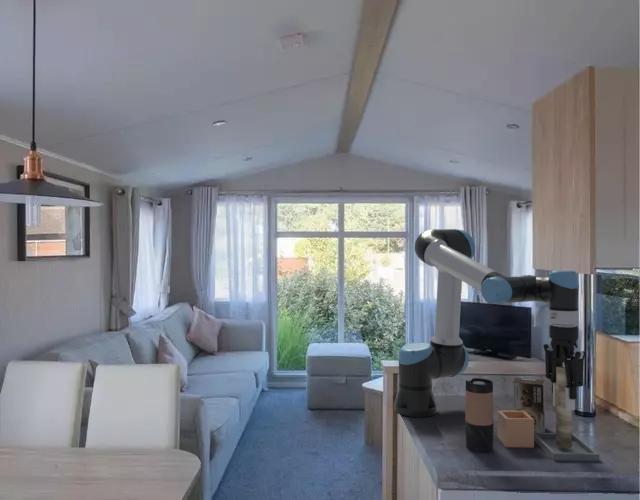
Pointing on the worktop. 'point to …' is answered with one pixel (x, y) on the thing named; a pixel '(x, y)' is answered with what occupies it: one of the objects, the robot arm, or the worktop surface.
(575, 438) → the tray
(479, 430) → the travel mug
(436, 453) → the worktop surface
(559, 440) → the dowel
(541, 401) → the coffee box
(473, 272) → the robot arm
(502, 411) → the pot
